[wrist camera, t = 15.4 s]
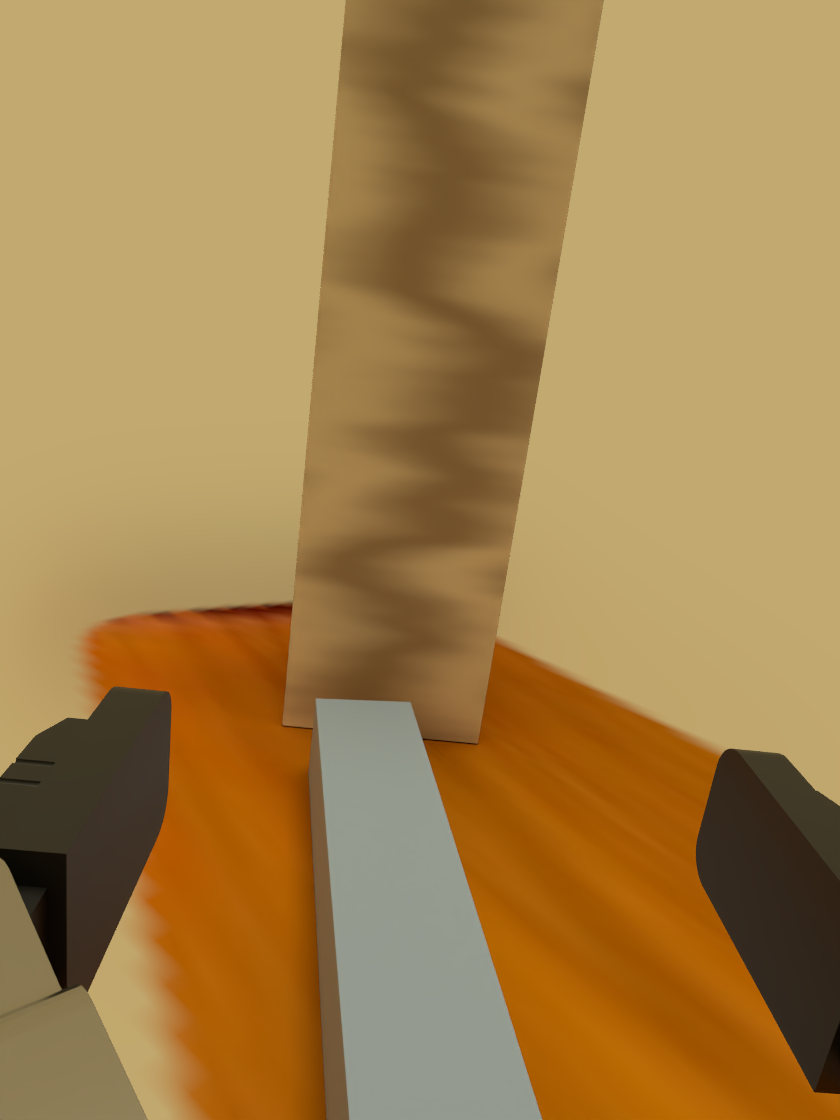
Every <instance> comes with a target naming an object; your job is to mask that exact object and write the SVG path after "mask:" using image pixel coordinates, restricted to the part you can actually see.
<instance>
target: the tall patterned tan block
mask: <svg viewBox="0 0 840 1120" xmlns="http://www.w3.org/2000/svg"><path fill="white" fill-rule="evenodd" d="M603 1H604V0H346V4H345V15H344V28H343V38H342V49H341V61H340V72H339V85H338V95H337V106H336V118H335V130H334V141H333V153H332V164H331V175H330V186H329V198H328V209H327V221H326V233H325V245H324V255H323V267H322V278H321V289H320V300H319V312H318V324H317V336H316V346H315V359H314V369H313V380H312V392H311V404H310V415H309V427H308V437H307V450H306V460H305V473H304V483H303V495H302V507H301V518H300V529H299V541H298V552H297V563H296V574H295V586H294V597H293V609H292V620H291V631H290V643H289V654H288V666H287V677H286V689H285V700H284V711H283V723H282V725H283V726H294V727H305V728H313V722H314V711H315V701H316V699H343V700H370V701H396V702H411V705H412V708H413V712H414V715H415V718H416V721H417V724H418V727H419V731H420V734H421V737H422V739H433V740H444V741H454V742H465V743H476V744H478V740H479V734H480V728H481V722H482V716H483V710H484V704H485V699H486V693H487V687H488V681H489V675H490V669H491V663H492V657H493V651H494V645H495V639H496V634H497V628H498V622H499V616H500V610H501V604H502V597H503V592H504V586H505V580H506V574H507V569H508V563H509V557H510V551H511V545H512V539H513V533H514V527H515V521H516V515H517V510H518V503H519V497H520V491H521V486H522V480H523V474H524V468H525V462H526V456H527V450H528V445H529V439H530V433H531V426H532V420H533V414H534V409H535V403H536V397H537V391H538V385H539V380H540V374H541V368H542V362H543V356H544V350H545V344H546V338H547V332H548V327H549V320H550V315H551V309H552V303H553V297H554V291H555V285H556V279H557V272H558V267H559V262H560V255H561V250H562V244H563V238H564V232H565V226H566V220H567V214H568V208H569V202H570V196H571V191H572V185H573V179H574V173H575V167H576V161H577V155H578V149H579V143H580V138H581V132H582V126H583V120H584V114H585V108H586V102H587V96H588V90H589V84H590V78H591V73H592V67H593V61H594V55H595V49H596V42H597V37H598V31H599V25H600V19H601V13H602V7H603Z"/></svg>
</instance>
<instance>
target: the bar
mask: <svg viewBox="0 0 840 1120" xmlns="http://www.w3.org/2000/svg"><path fill="white" fill-rule="evenodd" d="M309 793H310V812H311V832H312V851H313V870H314V890H315V909H316V928H317V948H318V967H319V987H320V1006H321V1025H322V1045H323V1064H324V1083H325V1103H326V1120H542V1118H541V1114H540V1111H539V1108H538V1105H537V1102H536V1099H535V1095H534V1092H533V1089H532V1086H531V1083H530V1080H529V1076H528V1073H527V1070H526V1067H525V1064H524V1060H523V1057H522V1054H521V1051H520V1048H519V1045H518V1041H517V1038H516V1035H515V1032H514V1029H513V1026H512V1022H511V1019H510V1016H509V1013H508V1010H507V1007H506V1003H505V1000H504V997H503V994H502V991H501V988H500V984H499V981H498V978H497V975H496V972H495V968H494V965H493V962H492V959H491V956H490V953H489V949H488V946H487V943H486V940H485V937H484V934H483V930H482V927H481V924H480V921H479V918H478V915H477V911H476V908H475V905H474V902H473V899H472V896H471V892H470V889H469V886H468V883H467V880H466V876H465V873H464V870H463V867H462V864H461V861H460V857H459V854H458V851H457V848H456V845H455V842H454V838H453V835H452V832H451V829H450V826H449V823H448V819H447V816H446V813H445V810H444V807H443V804H442V800H441V797H440V794H439V791H438V788H437V784H436V781H435V778H434V775H433V772H432V769H431V765H430V762H429V759H428V756H427V753H426V750H425V746H424V743H423V740H422V737H421V734H420V731H419V727H418V724H417V721H416V718H415V715H414V712H413V708H412V705H411V702H396V701H370V700H343V699H316V701H315V711H314V722H313V732H312V742H311V753H310V763H309Z"/></svg>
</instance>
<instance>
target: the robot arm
mask: <svg viewBox="0 0 840 1120" xmlns="http://www.w3.org/2000/svg"><path fill="white" fill-rule="evenodd" d="M170 730H171V697H170V694H169V692H166V691H156V690H145V689H135V688H125V687H113V688H112V689H111V690H110V691H109V692H108V693H107V695H106V696H105V697H104V699H103V700H102V701H101V703H100V704H99V705H98V707H97V708H96V709H95V711H94V712H93V713H92V715H91V716H90V717H89V719H88V720H86V719H76V718H66V719H65V720H63V721H61V722H59V723H57V724H56V725H54V726H52V727H50V728H49V729H47V730H45V731H43V732H41V733H39V734H38V735H36V736H35V737H34V738H33V739H32V740H31V742H30V743H29V744H28V745H27V746H26V748H25V749H24V750H23V751H22V753H20V755H19V756H18V757H17V758H16V762H15V763H12V764H11V765H10V766H9V768H8V769H7V770H6V771H5V772H4V773H3V775H2V776H1V777H0V1120H148V1119H147V1117H146V1115H145V1113H144V1111H143V1109H142V1107H141V1105H140V1102H139V1100H138V1098H137V1096H136V1094H135V1092H134V1089H133V1087H132V1085H131V1083H130V1081H129V1079H128V1077H127V1075H126V1073H125V1070H124V1068H123V1066H122V1064H121V1062H120V1059H119V1057H118V1055H117V1053H116V1051H115V1049H114V1047H113V1044H112V1042H111V1040H110V1038H109V1036H108V1034H107V1032H106V1029H105V1027H104V1025H103V1023H102V1021H101V1019H100V1017H99V1015H98V1012H97V1010H96V1008H95V1006H94V1004H93V1002H92V1000H91V998H90V996H89V994H88V993H87V992H88V990H89V988H90V986H91V983H92V981H93V979H94V977H95V974H96V972H97V969H98V968H99V966H100V963H101V961H102V959H103V957H104V954H105V952H106V950H107V948H108V945H109V943H110V941H111V939H112V937H113V934H114V932H115V930H116V928H117V926H118V924H119V921H120V919H121V917H122V915H123V912H124V910H125V908H126V906H127V904H128V901H129V899H130V897H131V895H132V893H133V890H134V888H135V886H136V884H137V882H138V879H139V877H140V875H141V873H142V870H143V868H144V866H145V864H146V862H147V859H148V857H149V855H150V853H151V851H152V848H153V846H154V844H155V842H156V839H157V837H158V835H159V832H160V829H161V826H162V822H163V818H164V814H165V809H166V803H167V796H168V780H169V755H170ZM696 863H697V870H698V875H699V878H700V881H701V883H702V886H703V888H704V889H705V891H706V893H707V895H708V897H709V899H710V901H711V902H712V904H713V906H714V908H715V910H716V912H717V913H718V915H719V917H720V919H721V921H722V923H723V925H724V926H725V928H726V930H727V932H728V934H729V936H730V937H731V939H732V941H733V943H734V945H735V947H736V949H737V950H738V952H739V954H740V956H741V958H742V960H743V961H744V963H745V965H746V967H747V969H748V971H749V973H750V974H751V976H752V978H753V980H754V982H755V984H756V985H757V987H758V989H759V991H760V993H761V995H762V997H763V998H764V1000H765V1002H766V1004H767V1006H768V1008H769V1009H770V1011H771V1013H772V1015H773V1017H774V1019H775V1021H776V1022H777V1024H778V1026H779V1028H780V1030H781V1032H782V1033H783V1035H784V1037H785V1039H786V1041H787V1043H788V1045H789V1046H790V1048H791V1050H792V1052H793V1054H794V1056H795V1057H796V1059H797V1061H798V1063H799V1065H800V1067H801V1069H802V1070H803V1072H804V1074H805V1076H806V1078H807V1080H808V1081H809V1083H810V1085H811V1087H812V1089H813V1091H814V1092H819V1093H833V1094H840V806H839V805H837V804H836V803H834V802H833V801H831V800H830V799H828V798H827V797H826V796H824V795H823V794H821V793H820V792H818V791H815V789H814V788H813V787H812V786H811V785H810V784H809V783H808V782H807V781H806V779H805V778H804V777H803V776H802V775H801V774H800V773H799V771H798V770H797V769H796V768H795V767H794V766H793V765H792V764H791V762H789V760H788V759H787V758H786V757H785V756H784V755H781V754H779V753H769V752H760V751H750V750H739V749H728V750H726V751H725V752H724V753H723V754H722V755H721V757H720V759H719V761H718V764H717V768H716V771H715V775H714V779H713V782H712V786H711V790H710V794H709V797H708V801H707V805H706V808H705V812H704V816H703V820H702V823H701V827H700V831H699V835H698V839H697V845H696Z"/></svg>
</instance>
